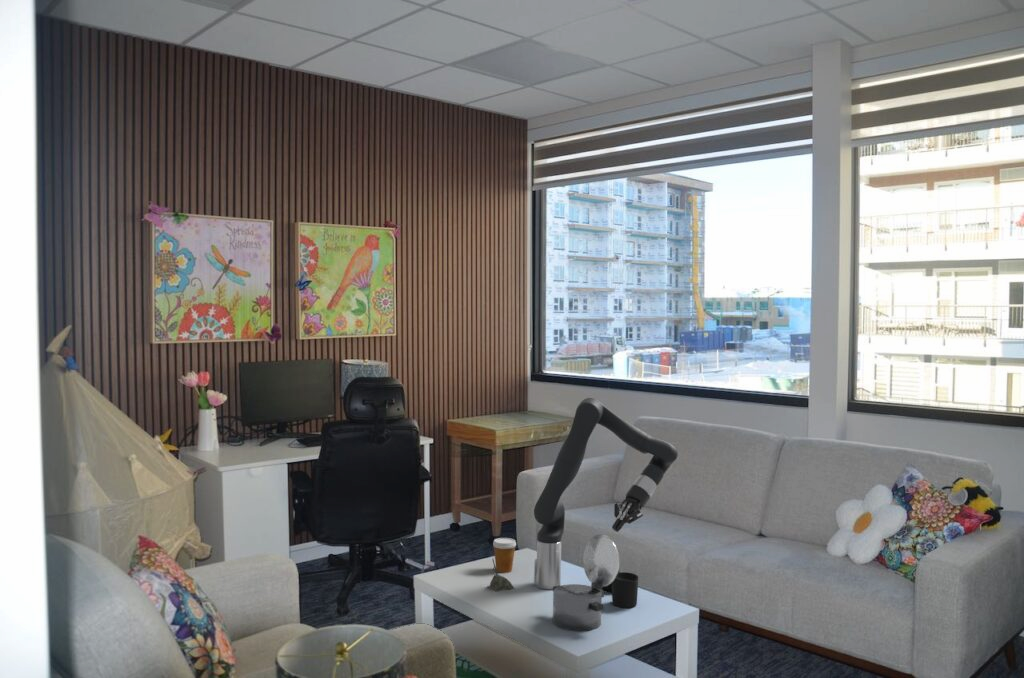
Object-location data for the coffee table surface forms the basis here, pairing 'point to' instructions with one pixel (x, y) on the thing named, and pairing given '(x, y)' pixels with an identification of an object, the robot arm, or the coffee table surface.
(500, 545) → the disposable coffee cup
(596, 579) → the cooker lid
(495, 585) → the sword in stone
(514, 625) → the coffee table surface
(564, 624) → the cooker pot
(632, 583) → the pen holder
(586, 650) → the coffee table surface
